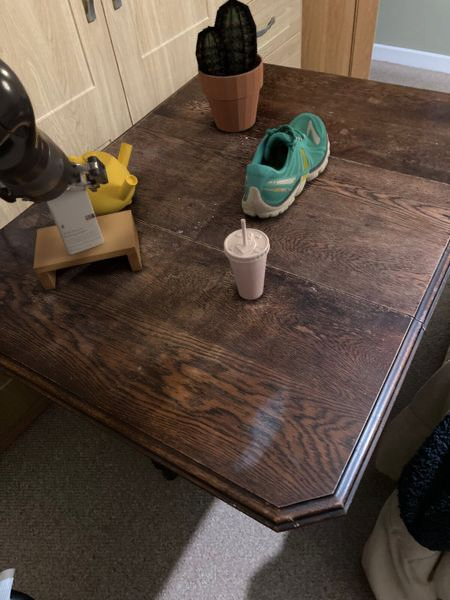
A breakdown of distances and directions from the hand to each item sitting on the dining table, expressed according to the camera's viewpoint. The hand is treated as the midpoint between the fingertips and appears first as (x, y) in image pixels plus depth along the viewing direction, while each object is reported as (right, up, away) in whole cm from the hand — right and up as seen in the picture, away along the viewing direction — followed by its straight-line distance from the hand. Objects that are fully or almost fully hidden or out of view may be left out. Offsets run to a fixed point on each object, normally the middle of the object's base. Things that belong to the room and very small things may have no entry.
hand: (65, 191), depth 74 cm
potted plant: (+26, +24, +37) cm, 51 cm away
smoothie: (+28, -15, +1) cm, 32 cm away
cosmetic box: (+1, -7, +6) cm, 9 cm away
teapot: (+2, +2, +20) cm, 21 cm away
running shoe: (+36, +6, +20) cm, 42 cm away
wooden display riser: (+2, -10, +10) cm, 14 cm away
